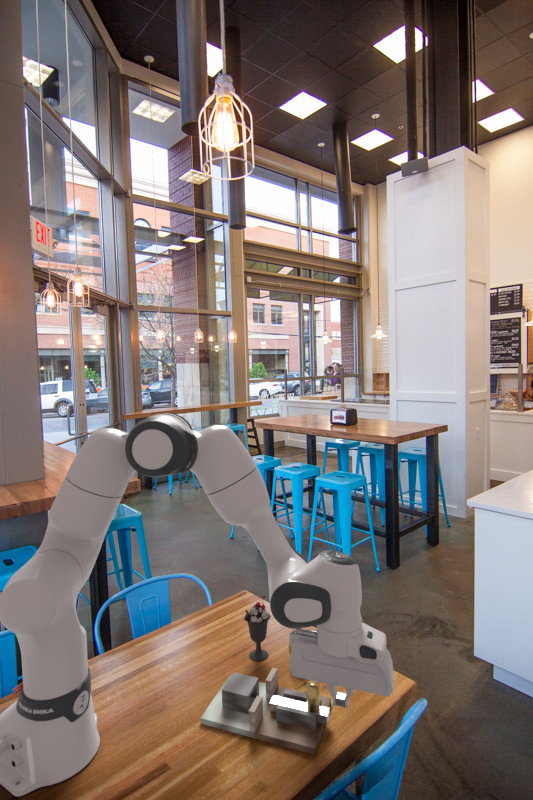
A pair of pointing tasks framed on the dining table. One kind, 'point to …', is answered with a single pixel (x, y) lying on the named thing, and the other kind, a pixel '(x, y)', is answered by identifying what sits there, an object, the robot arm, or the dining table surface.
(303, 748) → the lock board
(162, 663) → the dining table surface
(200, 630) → the dining table surface
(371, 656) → the robot arm
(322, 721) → the bolt
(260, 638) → the sundae
